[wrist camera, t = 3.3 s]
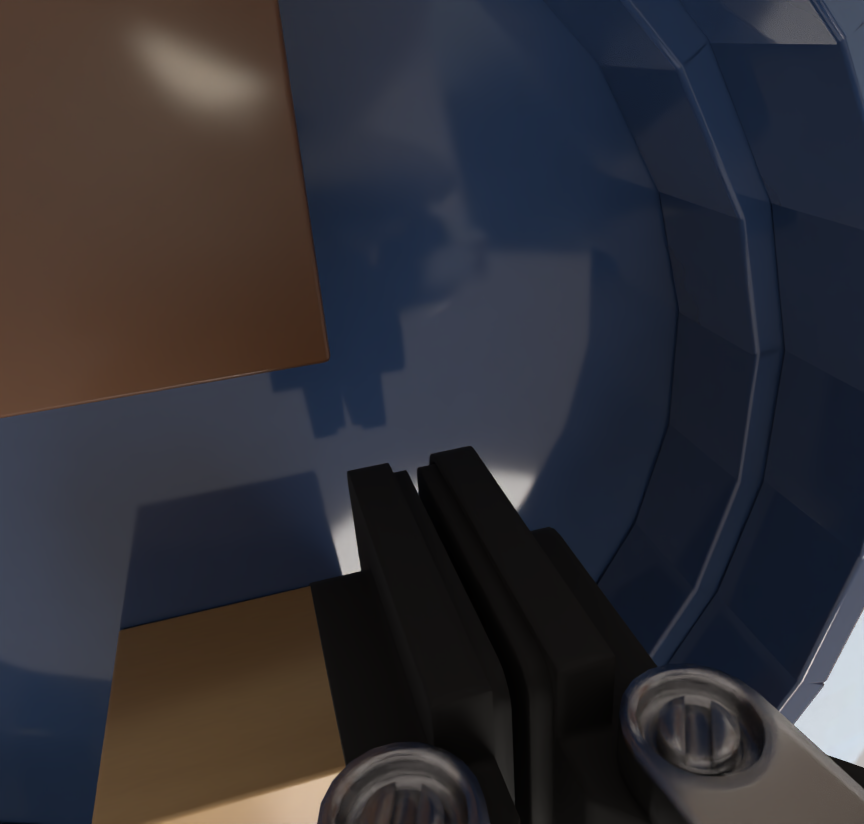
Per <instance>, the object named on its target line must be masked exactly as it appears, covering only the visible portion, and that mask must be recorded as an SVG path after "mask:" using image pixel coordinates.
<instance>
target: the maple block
mask: <svg viewBox="0 0 864 824" xmlns="http://www.w3.org/2000/svg"><path fill="white" fill-rule="evenodd" d="M345 767H346V766H345V761H344V756H343V751H342V746H341V741H340V736H339V731H338V726H337V721H336V716H335V711H334V706H333V701H332V696H331V691H330V686H329V681H328V676H327V671H326V666H325V661H324V656H323V651H322V645H321V640H320V635H319V630H318V625H317V620H316V614H315V609H314V604H313V599H312V593H311V588H310V586H307V587H303V588H299V589H295V590H290V591H286V592H282V593H277V594H273V595H269V596H264V597H260V598H256V599H252V600H247V601H243V602H239V603H234V604H230V605H226V606H221V607H217V608H213V609H209V610H204V611H200V612H196V613H191V614H187V615H183V616H178V617H174V618H170V619H166V620H161V621H157V622H153V623H148V624H144V625H140V626H135V627H131V628H127V629H123V630H121V631H120V632H119V636H118V643H117V650H116V657H115V664H114V671H113V678H112V685H111V692H110V699H109V706H108V713H107V720H106V727H105V734H104V741H103V748H102V754H101V761H100V768H99V775H98V782H97V789H96V796H95V803H94V810H93V817H92V824H317V821H318V815H319V810H320V804H321V801H322V800H323V798H324V796H325V794H326V792H327V790H328V788H329V786H330V784H331V782H332V780H333V779H334V778H335V777H336V776H337V775H338V774H339V773H340V772H341V771H342V770H343V769H344V768H345Z"/></svg>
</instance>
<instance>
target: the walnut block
mask: <svg viewBox="0 0 864 824" xmlns="http://www.w3.org/2000/svg"><path fill="white" fill-rule="evenodd" d="M329 359H330V350H329V343H328V336H327V329H326V322H325V316H324V309H323V302H322V295H321V288H320V281H319V275H318V268H317V261H316V254H315V247H314V241H313V234H312V227H311V220H310V213H309V207H308V200H307V193H306V186H305V179H304V173H303V166H302V159H301V152H300V145H299V139H298V132H297V125H296V118H295V111H294V104H293V98H292V91H291V84H290V77H289V70H288V64H287V57H286V50H285V43H284V36H283V30H282V23H281V16H280V9H279V2H278V0H0V418H5V417H11V416H16V415H22V414H28V413H34V412H40V411H45V410H51V409H57V408H63V407H69V406H75V405H80V404H86V403H92V402H98V401H104V400H109V399H115V398H121V397H127V396H133V395H138V394H144V393H150V392H156V391H162V390H167V389H173V388H179V387H185V386H191V385H196V384H202V383H208V382H214V381H220V380H225V379H231V378H237V377H243V376H249V375H255V374H260V373H266V372H272V371H278V370H284V369H289V368H295V367H301V366H307V365H313V364H318V363H324V362H327V361H329Z"/></svg>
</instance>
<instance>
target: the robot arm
mask: <svg viewBox="0 0 864 824" xmlns="http://www.w3.org/2000/svg"><path fill="white" fill-rule="evenodd" d="M347 480H348V487H349V494H350V501H351V508H352V514H353V521H354V528H355V534H356V541H357V548H358V555H359V561H360V568H361V571H359V572H355V573H350V574H346V575H342V576H338V577H333V578H329V579H325V580H321V581H316V582H312V583H310V588H311V593H312V599H313V604H314V609H315V614H316V620H317V625H318V630H319V635H320V640H321V645H322V651H323V656H324V661H325V666H326V671H327V676H328V681H329V686H330V691H331V696H332V701H333V706H334V711H335V716H336V721H337V726H338V731H339V736H340V741H341V746H342V751H343V756H344V761H345V766H346V767H345V768H344V769H343V770H342V771H341V772H340V773H339V774H338V775H337V776H336V777H335V778H334V779H333V780H332V782H331V784H330V786H329V788H328V790H327V792H326V794H325V796H324V798H323V800H322V801H321V804H320V810H319V815H318V821H317V824H864V768H863V767H860V766H857V765H855V764H852V763H849V762H846V761H843V760H840V759H837V758H834V757H831V756H828V755H826V754H825V753H824V752H823V751H822V750H821V749H820V748H818V747H817V746H816V745H815V744H814V743H813V742H812V741H811V740H810V739H809V738H807V737H806V736H805V735H804V734H803V733H802V732H801V731H800V730H799V729H798V728H797V727H795V726H794V725H793V724H792V723H791V722H790V721H789V720H788V719H787V718H786V717H784V716H783V715H782V714H781V713H780V712H779V711H778V710H777V709H776V708H775V707H773V706H772V705H771V704H770V703H769V702H768V701H767V700H766V699H765V698H764V697H763V696H761V695H760V694H759V693H758V692H757V691H755V690H754V689H752V688H751V687H750V686H748V685H747V684H746V683H744V682H743V681H741V680H740V679H739V678H736V677H734V676H732V675H730V674H727V673H725V672H723V671H720V670H718V669H716V668H712V667H707V666H702V665H697V664H692V663H681V664H666V665H662V666H659V667H657V665H656V664H655V663H654V661H653V660H652V658H651V657H650V656H649V654H648V653H647V652H646V650H645V649H644V648H643V646H642V645H641V644H640V642H639V641H638V640H637V638H636V637H635V635H634V634H633V633H632V631H631V630H630V629H629V627H628V626H627V625H626V623H625V622H624V621H623V619H622V618H621V616H620V615H619V614H618V612H617V611H616V610H615V608H614V607H613V606H612V604H611V603H610V602H609V600H608V599H607V597H606V596H605V595H604V593H603V592H602V591H601V589H600V588H599V587H598V585H597V584H596V583H595V581H594V580H593V579H592V577H591V576H590V574H589V573H588V572H587V570H586V569H585V568H584V566H583V565H582V564H581V562H580V561H579V560H578V558H577V557H576V555H575V554H574V553H573V551H572V550H571V549H570V547H569V546H568V545H567V543H566V542H565V541H564V539H563V538H562V536H561V535H560V534H559V533H558V532H557V531H556V530H555V529H554V528H551V527H546V528H541V529H537V530H533V531H530V530H529V528H528V527H527V526H526V524H525V523H524V521H523V520H522V518H521V517H520V515H519V514H518V512H517V511H516V509H515V508H514V506H513V505H512V503H511V502H510V501H509V499H508V498H507V496H506V495H505V493H504V492H503V490H502V489H501V487H500V486H499V484H498V483H497V481H496V480H495V479H494V477H493V476H492V474H491V473H490V471H489V470H488V468H487V467H486V465H485V464H484V462H483V461H482V459H481V458H480V457H479V455H478V454H477V452H476V451H475V449H474V448H473V447H472V446H466V447H461V448H456V449H452V450H447V451H442V452H437V453H432V454H431V455H430V458H429V465H427V466H423V467H418V469H417V483H418V492H417V490H416V488H415V486H414V484H413V482H412V480H411V478H410V476H409V474H408V472H407V471H406V470H404V471H399V472H394V473H393V471H392V468H391V466H390V465H389V463H384V464H379V465H374V466H369V467H364V468H360V469H355V470H350V471H347ZM418 493H419V494H418Z"/></svg>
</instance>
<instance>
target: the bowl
mask: <svg viewBox="0 0 864 824" xmlns="http://www.w3.org/2000/svg"><path fill="white" fill-rule="evenodd" d="M278 2H279V9H280V16H281V23H282V30H283V36H284V43H285V50H286V57H287V64H288V70H289V77H290V84H291V91H292V98H293V104H294V111H295V118H296V125H297V132H298V139H299V145H300V152H301V159H302V166H303V173H304V179H305V186H306V193H307V200H308V207H309V213H310V220H311V227H312V234H313V241H314V247H315V254H316V261H317V268H318V275H319V281H320V288H321V295H322V302H323V309H324V316H325V322H326V329H327V336H328V343H329V350H330V359H329V361H327V362H324V363H318V364H313V365H307V366H301V367H295V368H289V369H284V370H278V371H272V372H266V373H260V374H255V375H249V376H243V377H237V378H231V379H225V380H220V381H214V382H208V383H202V384H196V385H191V386H185V387H179V388H173V389H167V390H162V391H156V392H150V393H144V394H138V395H133V396H127V397H121V398H115V399H109V400H104V401H98V402H92V403H86V404H80V405H75V406H69V407H63V408H57V409H51V410H45V411H40V412H34V413H28V414H22V415H16V416H11V417H5V418H0V824H92V817H93V810H94V803H95V796H96V789H97V782H98V775H99V768H100V761H101V754H102V748H103V741H104V734H105V727H106V720H107V713H108V706H109V699H110V692H111V685H112V678H113V671H114V664H115V657H116V650H117V643H118V636H119V632H120V631H121V630H123V629H127V628H131V627H135V626H140V625H144V624H148V623H153V622H157V621H161V620H166V619H170V618H174V617H178V616H183V615H187V614H191V613H196V612H200V611H204V610H209V609H213V608H217V607H221V606H226V605H230V604H234V603H239V602H243V601H247V600H252V599H256V598H260V597H264V596H269V595H273V594H277V593H282V592H286V591H290V590H295V589H299V588H303V587H307V586H310V583H312V582H316V581H321V580H325V579H329V578H333V577H338V576H342V575H346V574H350V573H355V572H359V571H361V568H360V561H359V555H358V548H357V541H356V534H355V528H354V521H353V514H352V508H351V501H350V494H349V487H348V480H347V471H350V470H355V469H360V468H364V467H369V466H374V465H379V464H384V463H389V465H390V466H391V468H392V471H393V473H394V472H399V471H404V470H406V471H407V472H408V474H409V476H410V478H411V480H412V482H413V484H414V486H415V488H416V490H417V492H418V483H417V469H418V467H423V466H427V465H429V458H430V455H431V454H432V453H437V452H442V451H447V450H452V449H456V448H461V447H466V446H472V447H473V448H474V449H475V451H476V452H477V454H478V455H479V457H480V458H481V459H482V461H483V462H484V464H485V465H486V467H487V468H488V470H489V471H490V473H491V474H492V476H493V477H494V479H495V480H496V481H497V483H498V484H499V486H500V487H501V489H502V490H503V492H504V493H505V495H506V496H507V498H508V499H509V501H510V502H511V503H512V505H513V506H514V508H515V509H516V511H517V512H518V514H519V515H520V517H521V518H522V520H523V521H524V523H525V524H526V526H527V527H528V528H529V530H530V531H533V530H537V529H541V528H546V527H551V528H554V529H555V530H556V531H557V532H558V533H559V534H560V535H561V536H562V538H563V539H564V541H565V542H566V543H567V545H568V546H569V547H570V549H571V550H572V551H573V553H574V554H575V555H576V557H577V558H578V560H579V561H580V562H581V564H582V565H583V566H584V568H585V569H586V570H587V572H588V573H589V574H590V576H591V577H592V579H593V580H594V581H595V583H596V584H597V585H598V587H599V588H600V589H601V591H602V592H603V593H604V595H605V596H606V597H607V599H608V600H609V602H610V603H611V604H612V606H613V607H614V608H615V610H616V611H617V612H618V614H619V615H620V616H621V618H622V619H623V621H624V622H625V623H626V625H627V626H628V627H629V629H630V630H631V631H632V633H633V634H634V635H635V637H636V638H637V640H638V641H639V642H640V644H641V645H642V646H643V648H644V649H645V650H646V652H647V653H648V654H649V656H650V657H651V658H652V660H653V661H654V663H655V664H656V665H657V667H659V666H662V665H666V664H681V663H692V664H697V665H702V666H707V667H712V668H716V669H718V670H720V671H723V672H725V673H727V674H730V675H732V676H734V677H736V678H739V679H740V680H741V681H743V682H744V683H746V684H747V685H748V686H750V687H751V688H752V689H754V690H755V691H757V692H758V693H759V694H760V695H761V696H763V697H764V698H765V699H766V700H767V701H768V702H769V703H770V704H771V705H772V706H773V707H775V708H776V709H777V710H778V711H779V712H780V713H781V714H782V715H783V716H784V717H786V718H787V719H788V720H789V721H790V722H791V723H792V724H793V725H794V723H795V722H796V721H797V720H798V718H799V717H800V716H801V714H802V713H803V712H804V711H805V709H806V708H807V707H808V706H809V704H810V703H811V702H812V700H813V699H814V698H815V697H816V695H817V694H818V693H819V691H820V690H821V689H822V688H823V686H824V683H823V682H825V681H826V680H827V678H828V677H829V675H830V673H831V671H832V669H833V667H834V665H835V663H836V661H837V659H838V657H839V655H840V653H841V652H842V650H843V648H844V646H845V644H846V642H847V640H848V638H849V636H850V634H851V632H852V630H853V628H854V627H855V625H856V623H857V621H858V619H859V617H860V615H861V613H862V611H863V609H864V0H278ZM418 494H419V493H418Z"/></svg>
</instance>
